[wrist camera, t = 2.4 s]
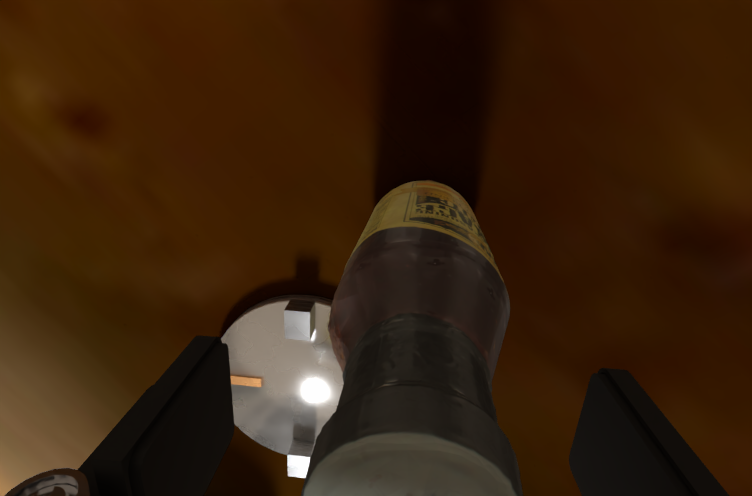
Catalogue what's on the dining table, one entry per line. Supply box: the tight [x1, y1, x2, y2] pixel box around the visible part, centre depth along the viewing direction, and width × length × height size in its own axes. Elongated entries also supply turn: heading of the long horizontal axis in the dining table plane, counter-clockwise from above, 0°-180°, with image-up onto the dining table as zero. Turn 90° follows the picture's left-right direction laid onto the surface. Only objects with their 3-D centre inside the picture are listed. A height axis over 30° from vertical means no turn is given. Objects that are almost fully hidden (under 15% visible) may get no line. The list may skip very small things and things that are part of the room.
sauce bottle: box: [301, 180, 523, 496], centre depth 17 cm, size 7×6×20 cm
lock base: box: [221, 294, 344, 478], centre depth 29 cm, size 13×13×3 cm
